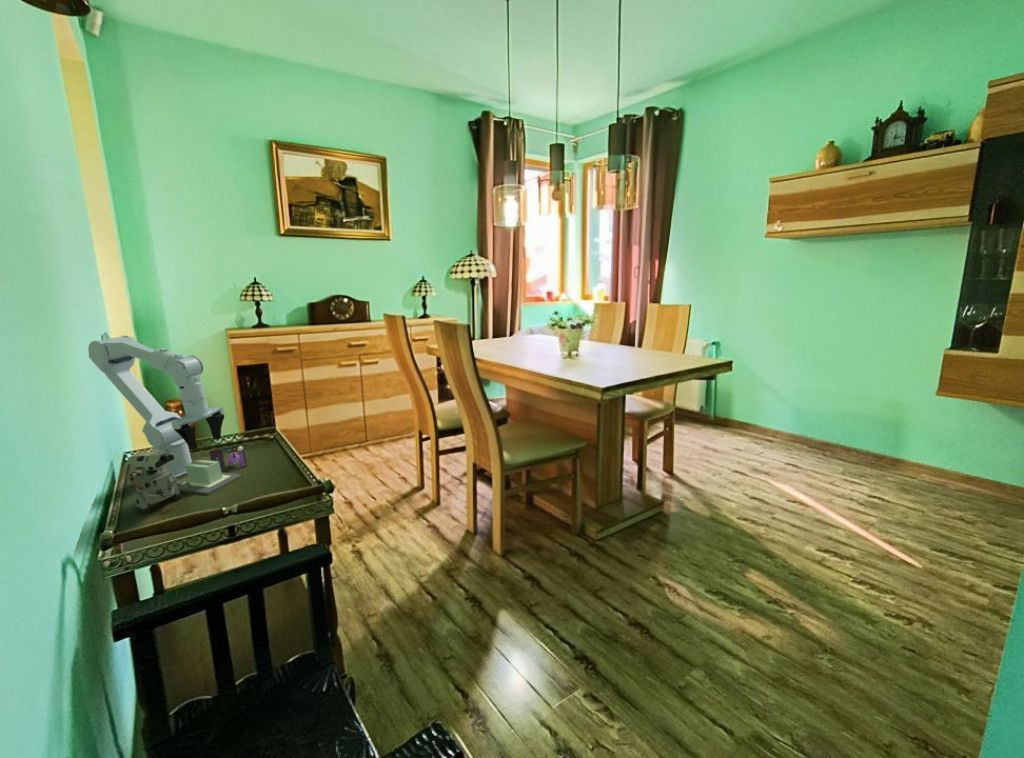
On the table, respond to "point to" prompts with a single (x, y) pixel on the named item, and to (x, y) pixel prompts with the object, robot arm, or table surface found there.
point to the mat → (209, 488)
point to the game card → (232, 459)
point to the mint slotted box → (204, 471)
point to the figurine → (153, 478)
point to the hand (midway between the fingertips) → (205, 443)
